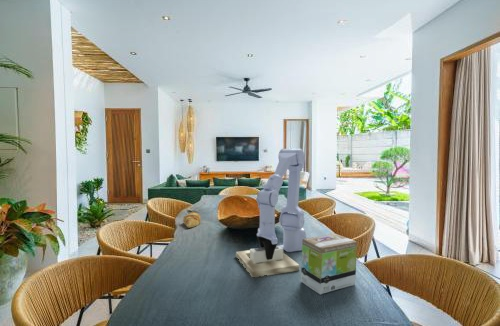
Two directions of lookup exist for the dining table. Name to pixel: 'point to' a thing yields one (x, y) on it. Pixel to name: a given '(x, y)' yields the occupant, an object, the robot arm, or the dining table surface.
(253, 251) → the white and grey block
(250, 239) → the dining table surface
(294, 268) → the keyhole board
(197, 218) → the croissant
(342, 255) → the tea box
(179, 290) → the dining table surface
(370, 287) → the dining table surface
